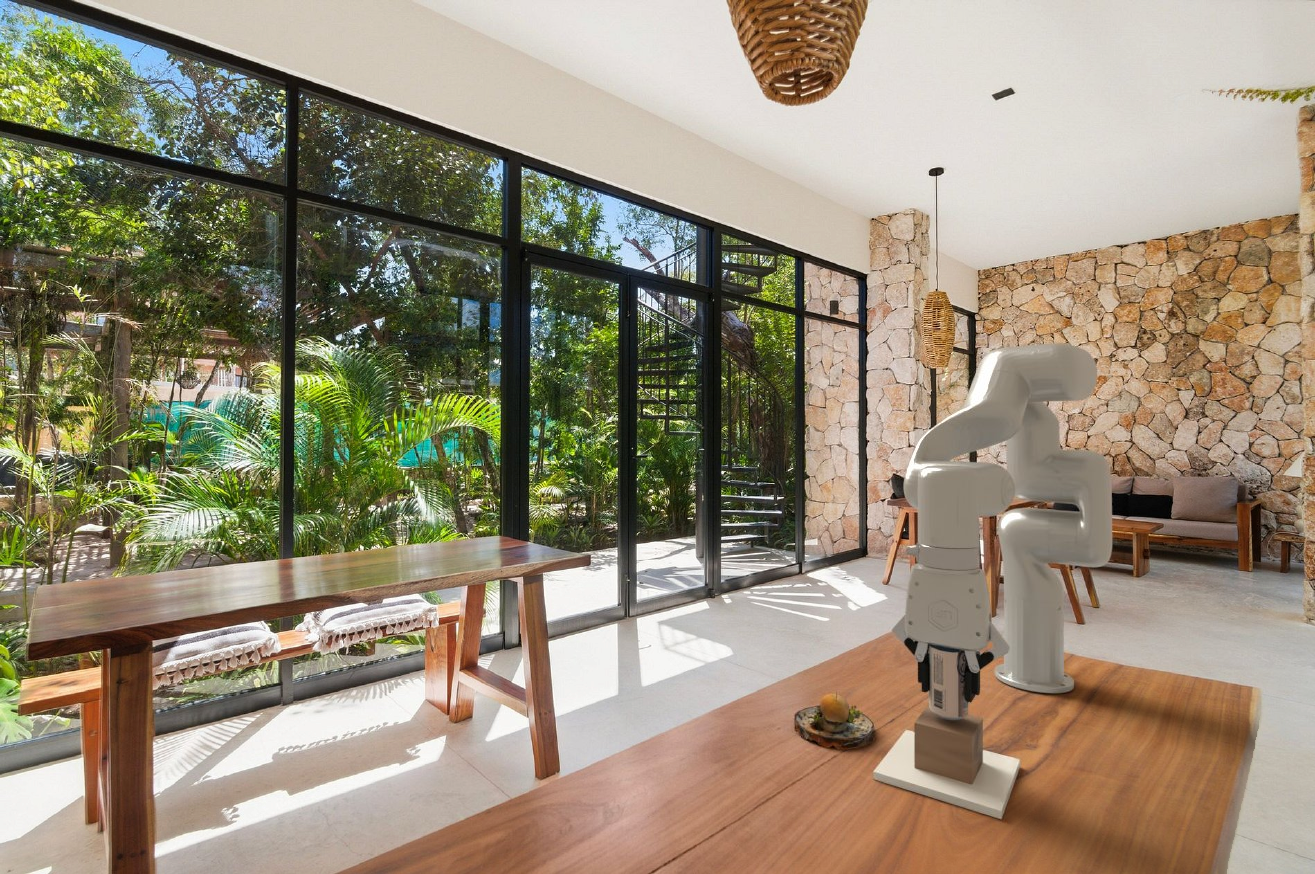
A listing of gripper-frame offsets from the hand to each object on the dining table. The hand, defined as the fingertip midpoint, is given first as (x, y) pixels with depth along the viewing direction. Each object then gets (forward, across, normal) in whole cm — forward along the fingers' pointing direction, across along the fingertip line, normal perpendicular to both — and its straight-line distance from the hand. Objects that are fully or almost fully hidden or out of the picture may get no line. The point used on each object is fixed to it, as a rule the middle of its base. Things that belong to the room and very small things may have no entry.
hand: (948, 692), depth 86 cm
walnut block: (+10, 0, 0) cm, 10 cm away
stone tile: (+11, 0, 0) cm, 11 cm away
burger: (+11, -17, +3) cm, 21 cm away
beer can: (+3, 0, 0) cm, 3 cm away
